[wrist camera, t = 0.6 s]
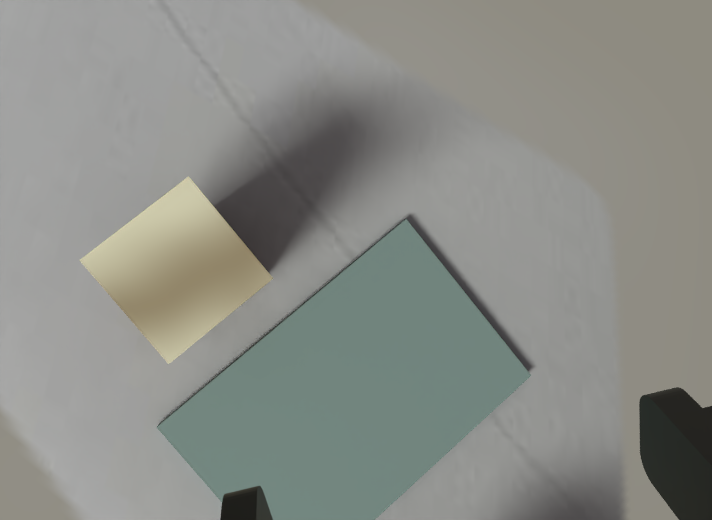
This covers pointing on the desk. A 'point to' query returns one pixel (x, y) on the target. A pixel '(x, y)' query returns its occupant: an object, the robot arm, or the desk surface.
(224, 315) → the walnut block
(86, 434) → the desk surface
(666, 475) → the robot arm
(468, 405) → the slate mat
